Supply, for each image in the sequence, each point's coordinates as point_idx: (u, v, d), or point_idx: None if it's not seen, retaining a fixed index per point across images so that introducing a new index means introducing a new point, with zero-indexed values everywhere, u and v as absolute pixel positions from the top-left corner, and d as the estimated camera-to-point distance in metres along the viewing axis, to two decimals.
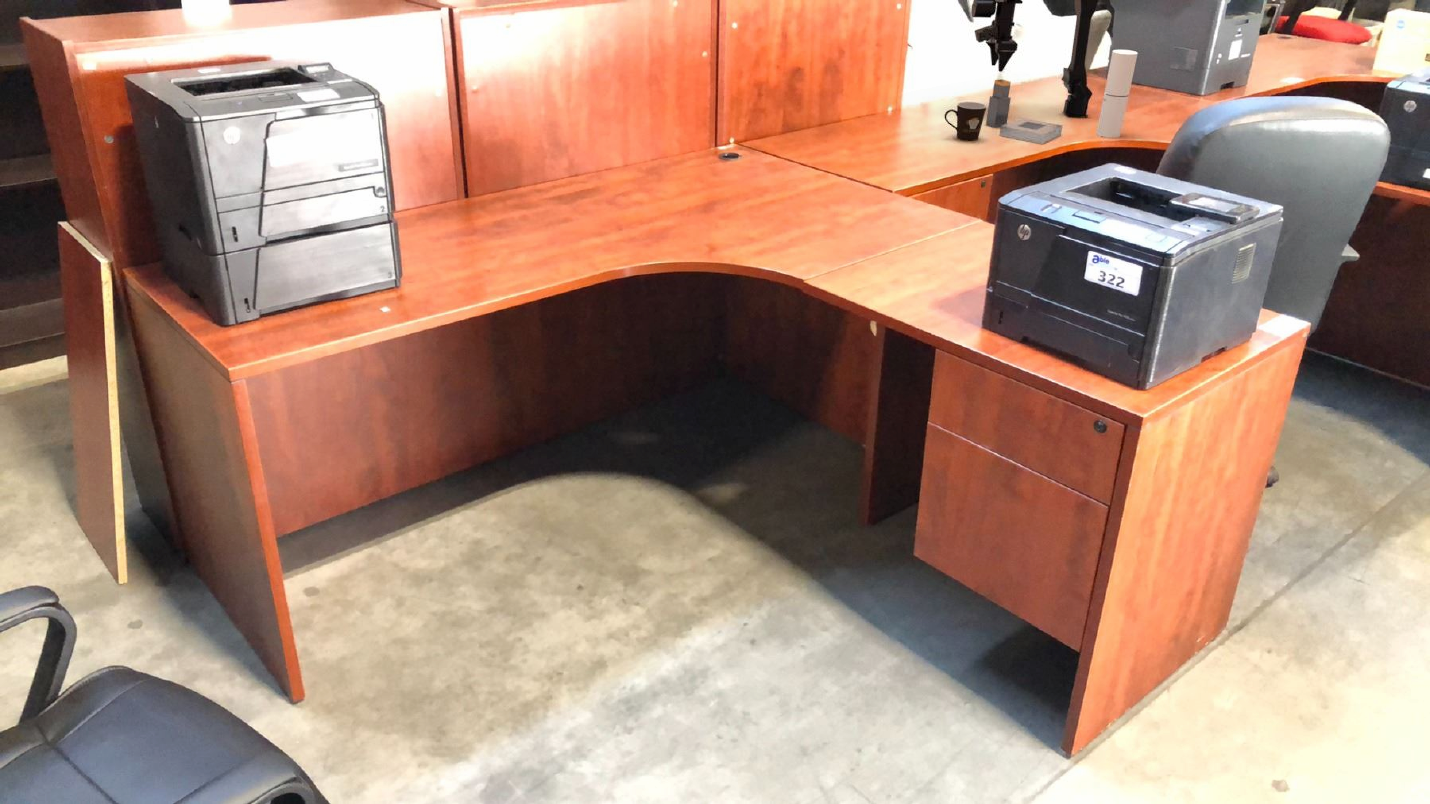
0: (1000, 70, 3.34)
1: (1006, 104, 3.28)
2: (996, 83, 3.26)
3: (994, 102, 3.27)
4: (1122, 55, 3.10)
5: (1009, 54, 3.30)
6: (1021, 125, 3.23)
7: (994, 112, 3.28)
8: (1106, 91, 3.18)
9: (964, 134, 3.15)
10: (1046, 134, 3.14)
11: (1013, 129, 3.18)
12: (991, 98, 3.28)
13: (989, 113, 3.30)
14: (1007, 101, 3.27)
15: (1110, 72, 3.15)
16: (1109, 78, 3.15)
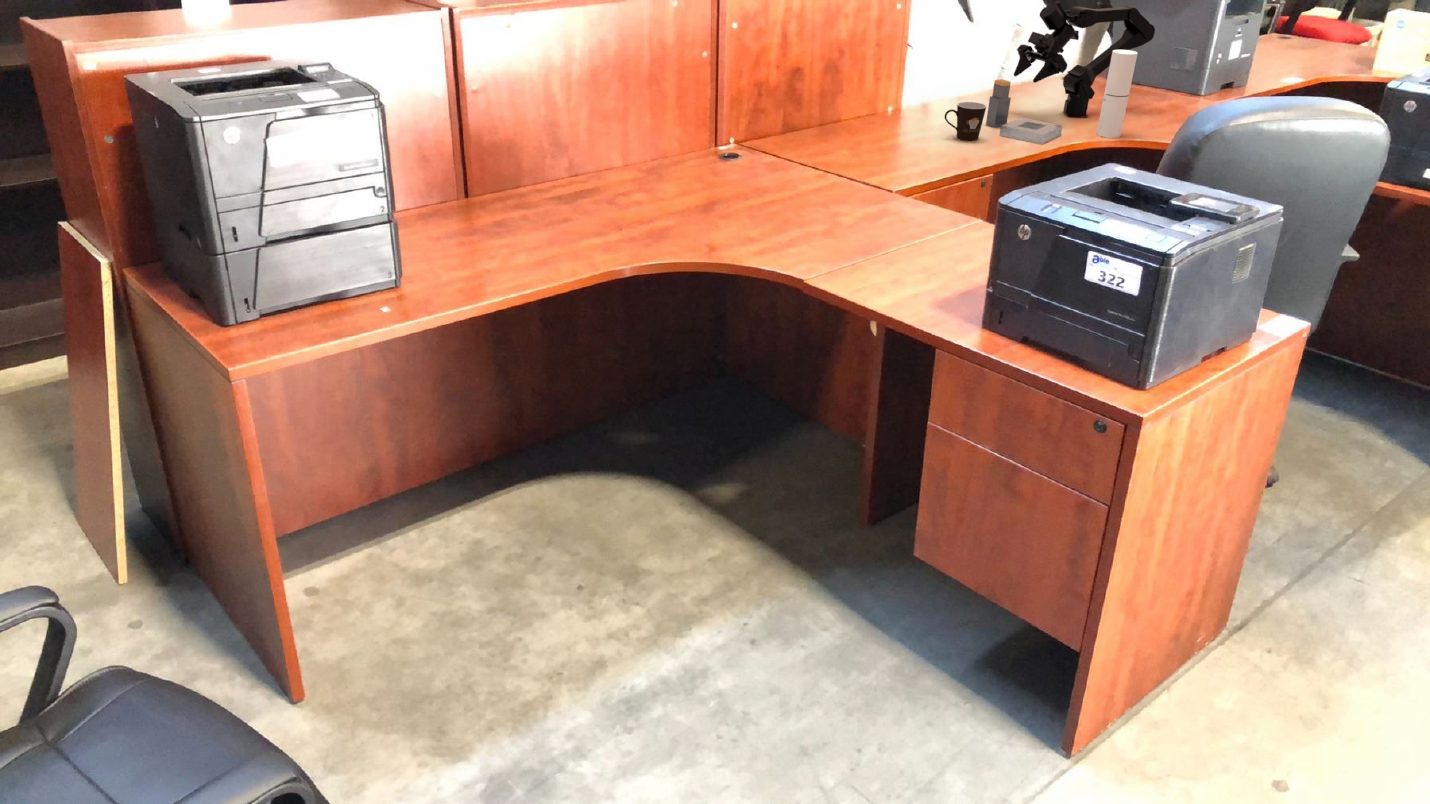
0: (1035, 80, 3.28)
1: (1006, 104, 3.28)
2: (996, 83, 3.26)
3: (994, 102, 3.27)
4: (1122, 55, 3.10)
5: (1051, 72, 3.27)
6: (1021, 125, 3.23)
7: (994, 112, 3.28)
8: (1106, 91, 3.18)
9: (964, 134, 3.15)
10: (1046, 134, 3.14)
11: (1013, 129, 3.18)
12: (991, 98, 3.28)
13: (989, 113, 3.30)
14: (1007, 101, 3.27)
15: (1110, 72, 3.15)
16: (1109, 78, 3.15)
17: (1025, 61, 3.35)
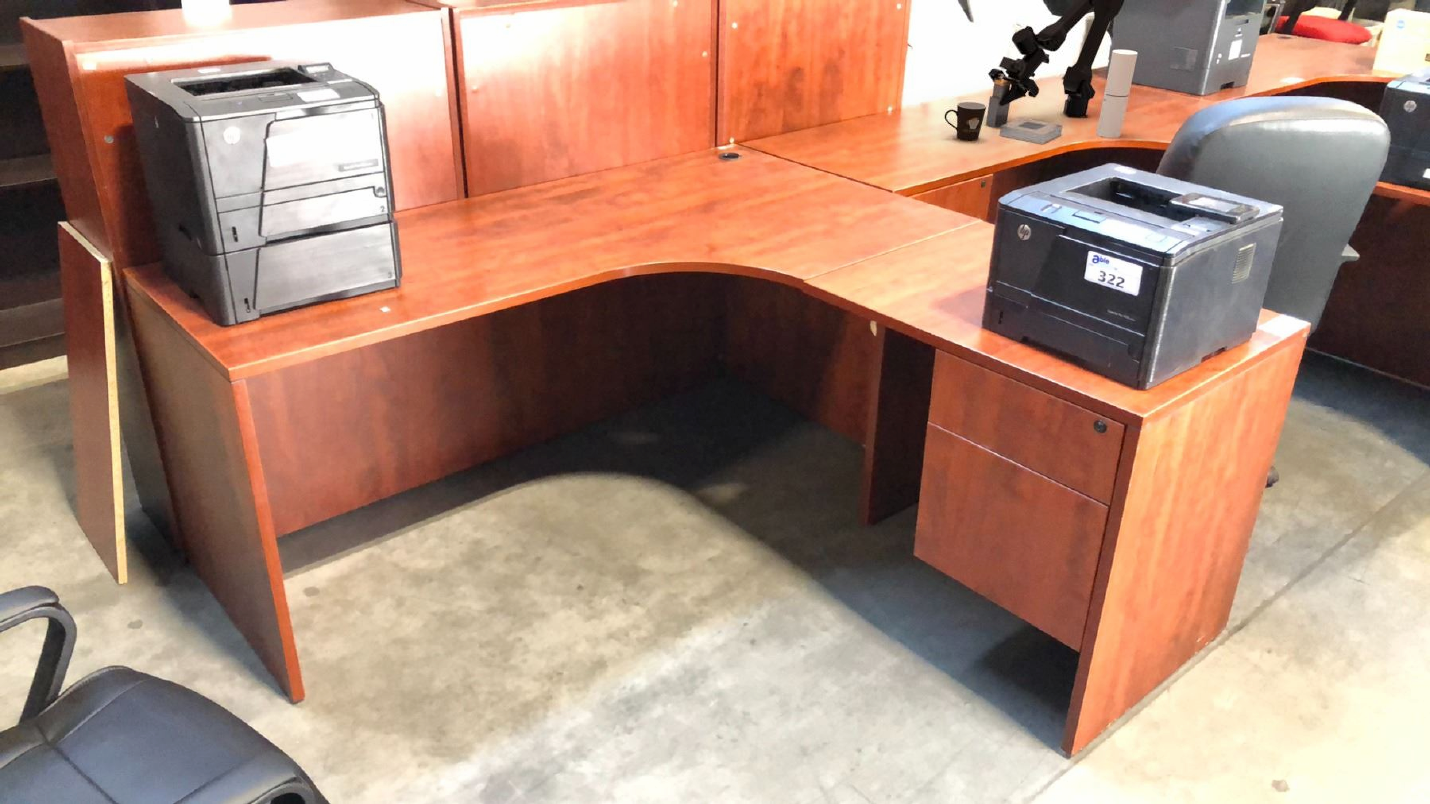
0: (1001, 104, 3.26)
1: (1006, 104, 3.28)
2: (996, 83, 3.26)
3: (994, 102, 3.27)
4: (1122, 55, 3.10)
5: (1018, 95, 3.26)
6: (1021, 125, 3.23)
7: (994, 112, 3.28)
8: (1106, 91, 3.18)
9: (964, 134, 3.15)
10: (1046, 134, 3.14)
11: (1013, 129, 3.18)
12: (991, 98, 3.28)
13: (989, 113, 3.30)
14: None
15: (1110, 72, 3.15)
16: (1109, 78, 3.15)
17: None
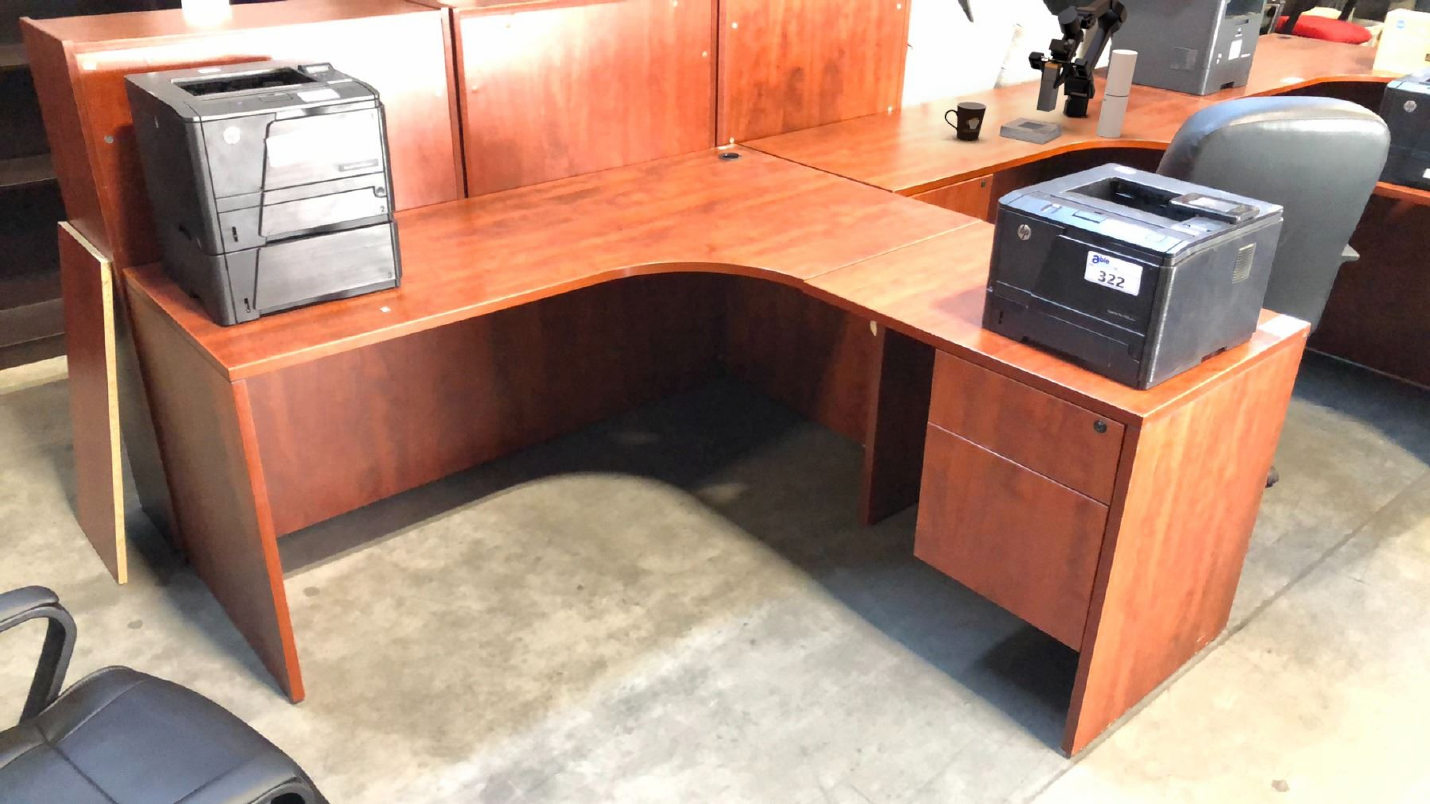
0: (1055, 87, 3.20)
1: None
2: (1048, 66, 3.19)
3: (1048, 86, 3.20)
4: (1122, 55, 3.10)
5: (1068, 76, 3.21)
6: (1021, 125, 3.23)
7: (1048, 95, 3.21)
8: (1106, 91, 3.18)
9: (964, 134, 3.15)
10: (1046, 134, 3.14)
11: (1013, 129, 3.18)
12: (1043, 82, 3.20)
13: (1041, 97, 3.22)
14: None
15: (1110, 72, 3.15)
16: (1109, 78, 3.15)
17: None
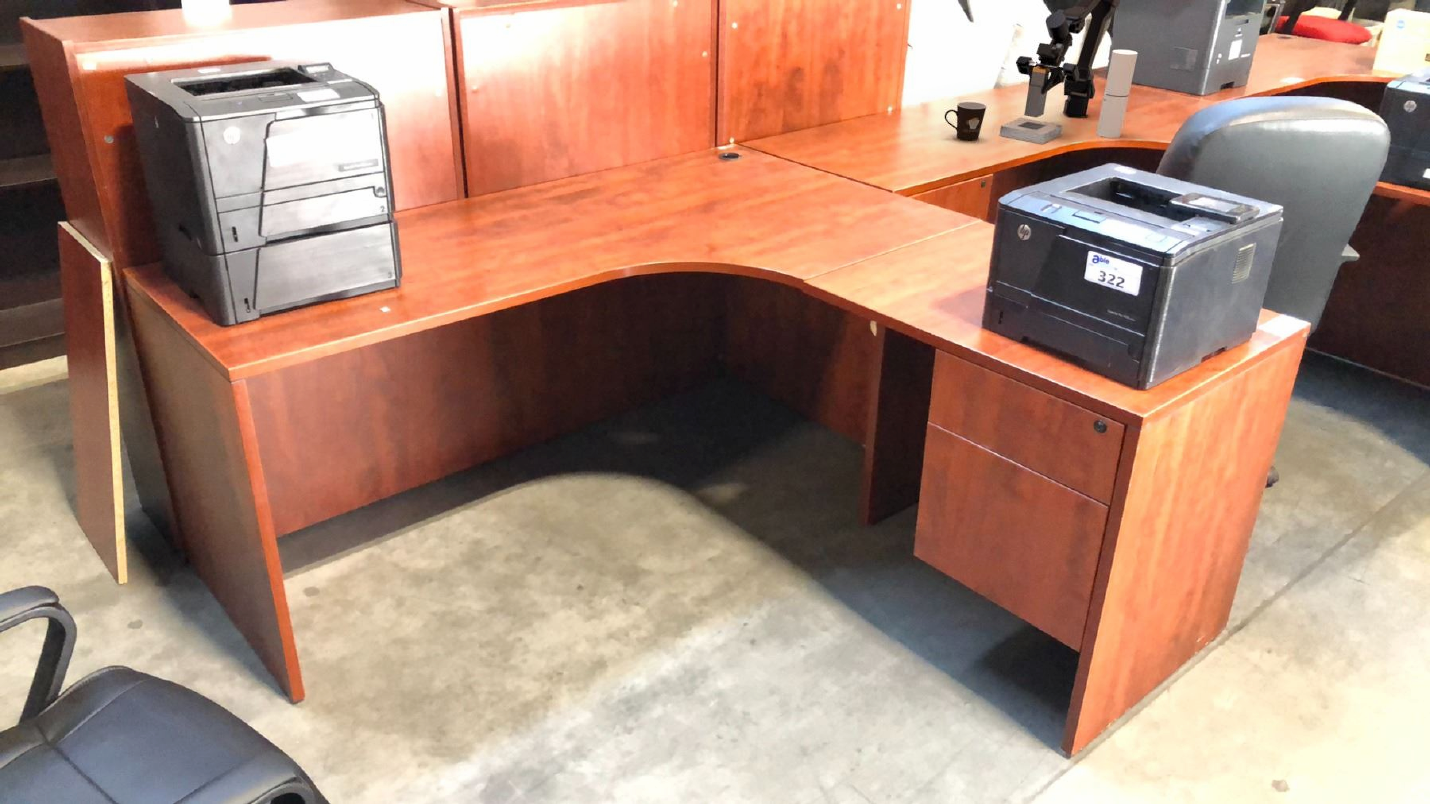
0: (1043, 92, 3.14)
1: None
2: (1035, 71, 3.13)
3: (1036, 91, 3.14)
4: (1122, 55, 3.10)
5: (1057, 81, 3.15)
6: (1021, 125, 3.23)
7: (1036, 101, 3.15)
8: (1106, 91, 3.18)
9: (964, 134, 3.15)
10: (1046, 134, 3.14)
11: (1013, 129, 3.18)
12: (1031, 87, 3.14)
13: (1029, 103, 3.17)
14: None
15: (1110, 72, 3.15)
16: (1109, 78, 3.15)
17: None
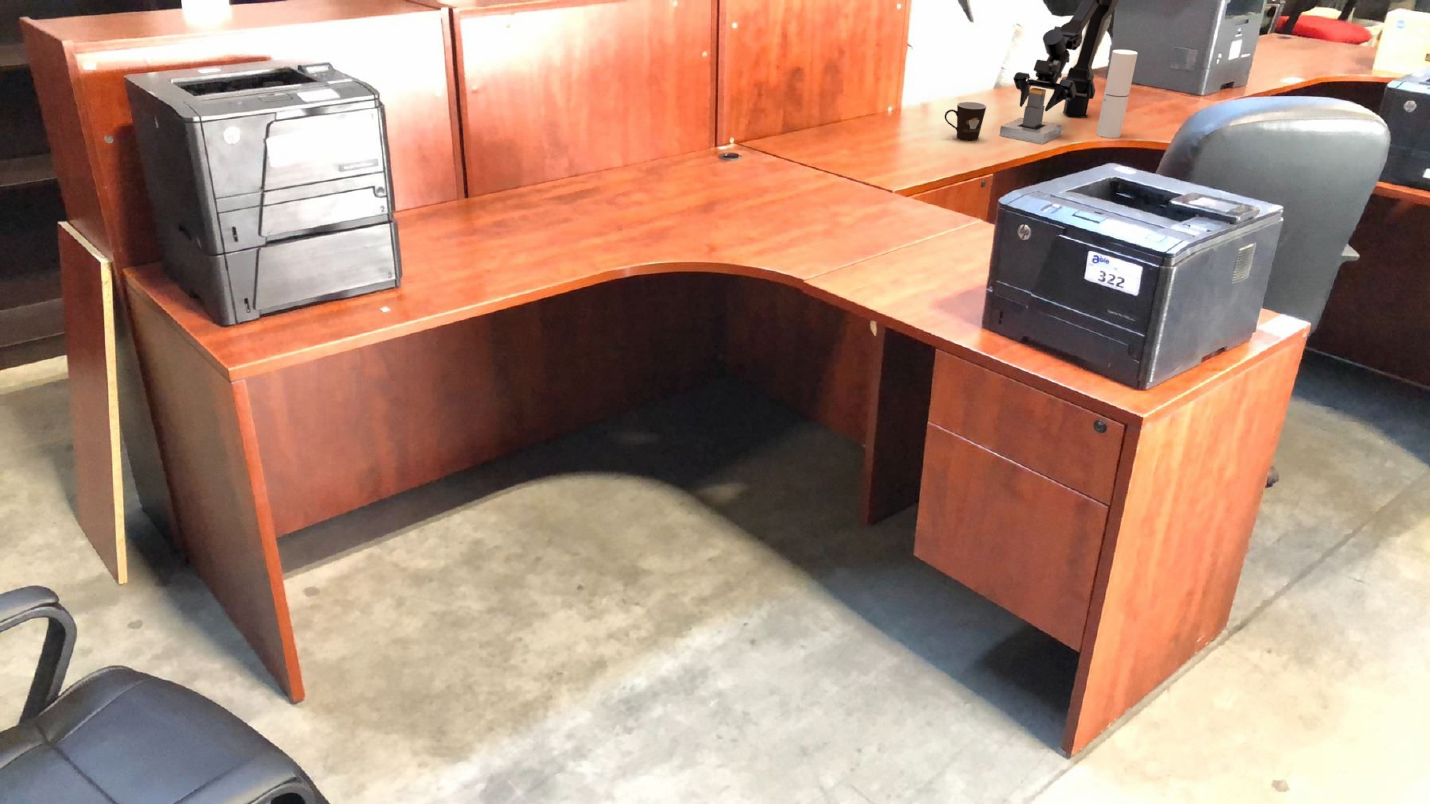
0: (1046, 109, 3.15)
1: (1041, 113, 3.19)
2: (1032, 92, 3.16)
3: (1032, 112, 3.17)
4: (1122, 55, 3.10)
5: (1060, 99, 3.16)
6: (1021, 125, 3.23)
7: (1032, 121, 3.18)
8: (1106, 91, 3.18)
9: (964, 134, 3.15)
10: (1046, 134, 3.14)
11: (1013, 129, 3.18)
12: (1027, 108, 3.17)
13: (1025, 123, 3.20)
14: (1042, 109, 3.19)
15: (1110, 72, 3.15)
16: (1109, 78, 3.15)
17: (1027, 90, 3.21)
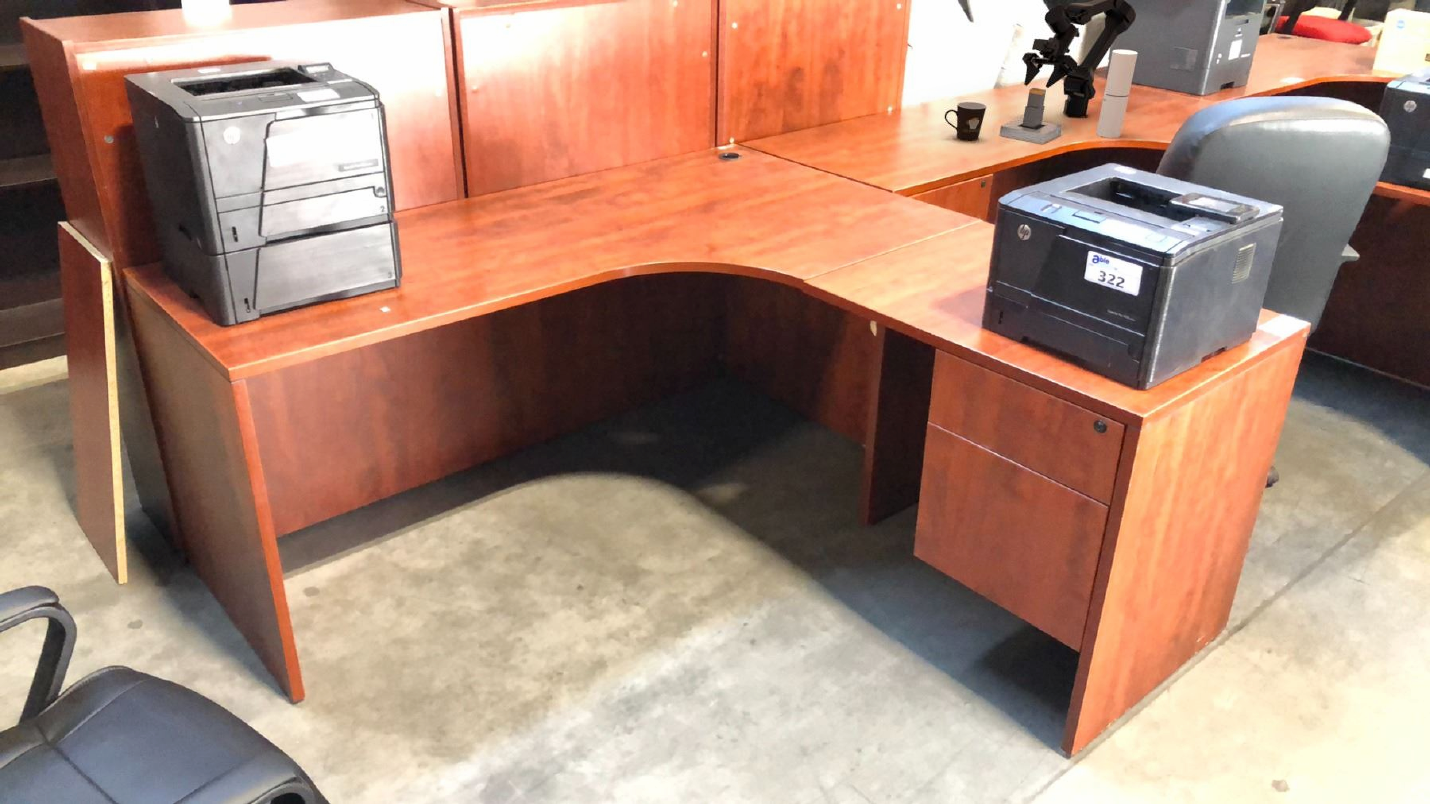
0: (1048, 86, 3.22)
1: (1041, 113, 3.19)
2: (1032, 92, 3.16)
3: (1032, 112, 3.17)
4: (1122, 55, 3.10)
5: (1063, 74, 3.21)
6: (1021, 125, 3.23)
7: (1032, 121, 3.18)
8: (1106, 91, 3.18)
9: (964, 134, 3.15)
10: (1046, 134, 3.14)
11: (1013, 129, 3.18)
12: (1027, 108, 3.17)
13: (1025, 123, 3.20)
14: (1042, 109, 3.19)
15: (1110, 72, 3.15)
16: (1109, 78, 3.15)
17: (1033, 68, 3.30)
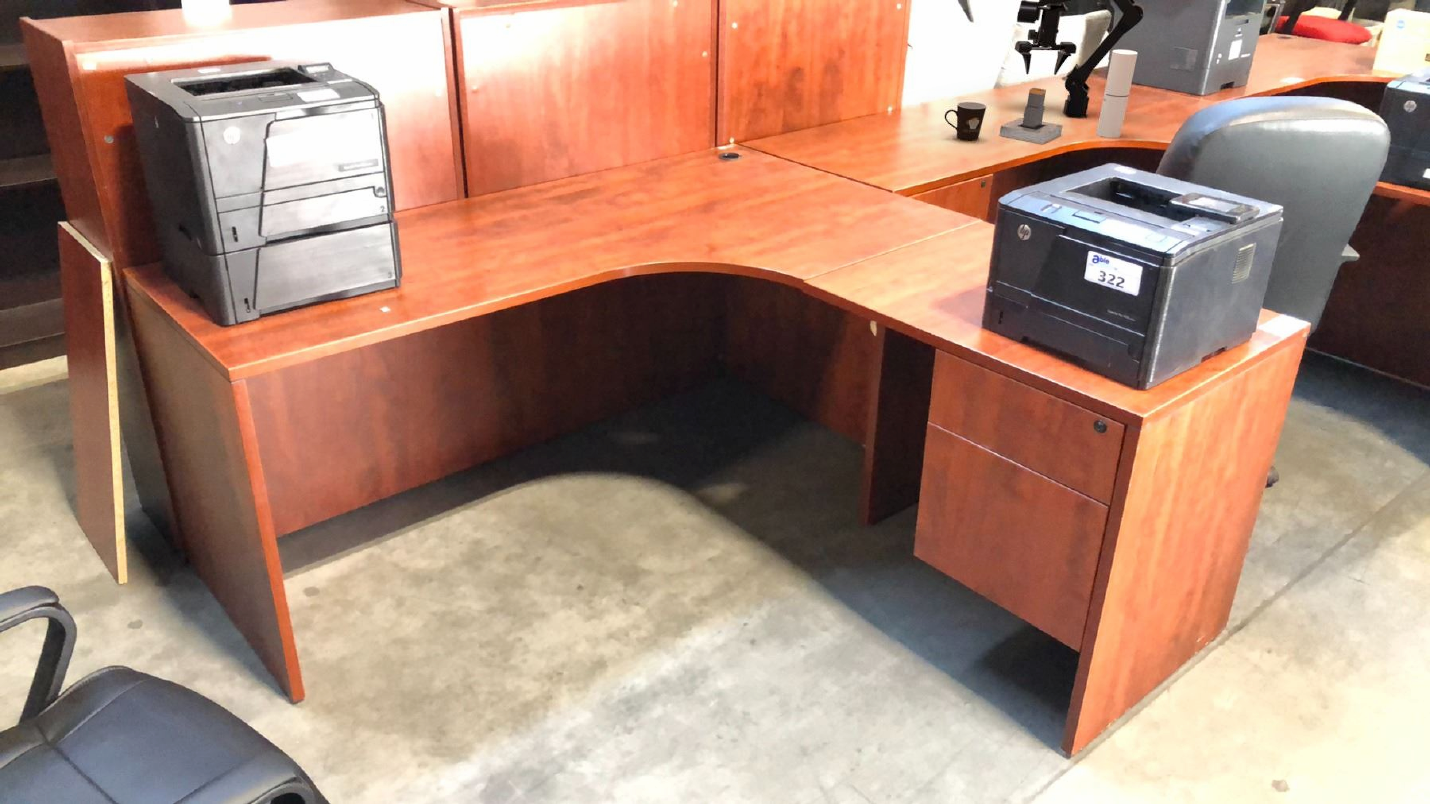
0: (1027, 72, 3.44)
1: (1041, 113, 3.19)
2: (1032, 92, 3.16)
3: (1032, 112, 3.17)
4: (1122, 55, 3.10)
5: (1025, 57, 3.40)
6: (1021, 125, 3.23)
7: (1032, 121, 3.18)
8: (1106, 91, 3.18)
9: (964, 134, 3.15)
10: (1046, 134, 3.14)
11: (1013, 129, 3.18)
12: (1027, 108, 3.17)
13: (1025, 123, 3.20)
14: (1042, 109, 3.19)
15: (1110, 72, 3.15)
16: (1109, 78, 3.15)
17: (1059, 56, 3.41)
